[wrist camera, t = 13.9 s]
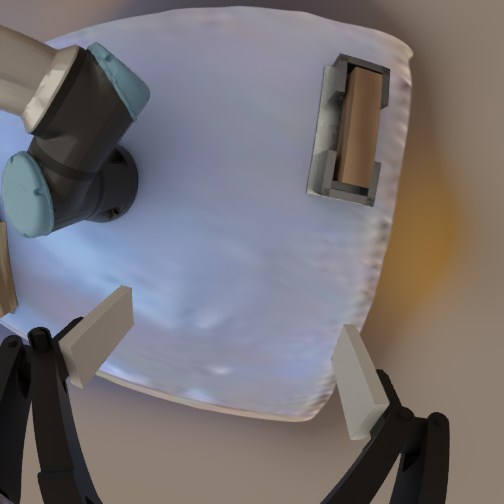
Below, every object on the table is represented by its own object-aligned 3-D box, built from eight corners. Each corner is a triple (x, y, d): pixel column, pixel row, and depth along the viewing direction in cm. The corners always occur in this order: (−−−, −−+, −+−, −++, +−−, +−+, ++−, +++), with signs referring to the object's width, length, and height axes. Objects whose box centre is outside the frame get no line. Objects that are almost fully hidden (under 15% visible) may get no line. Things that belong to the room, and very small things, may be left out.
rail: (332, 180, 39) (341, 182, 33) (345, 79, 34) (356, 66, 28) (356, 185, 39) (369, 188, 33) (368, 85, 34) (382, 75, 28)
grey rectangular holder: (305, 192, 44) (313, 197, 36) (324, 67, 37) (333, 49, 29) (361, 204, 44) (378, 211, 36) (378, 82, 37) (395, 68, 29)
